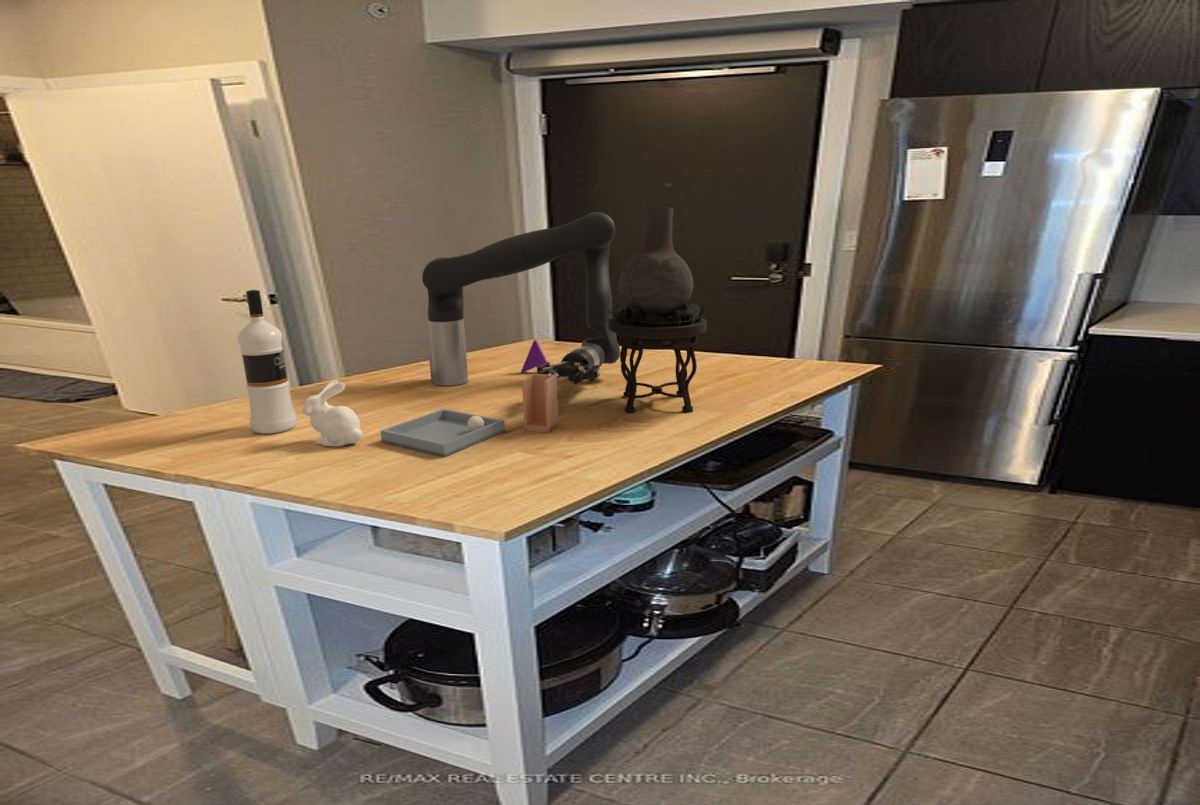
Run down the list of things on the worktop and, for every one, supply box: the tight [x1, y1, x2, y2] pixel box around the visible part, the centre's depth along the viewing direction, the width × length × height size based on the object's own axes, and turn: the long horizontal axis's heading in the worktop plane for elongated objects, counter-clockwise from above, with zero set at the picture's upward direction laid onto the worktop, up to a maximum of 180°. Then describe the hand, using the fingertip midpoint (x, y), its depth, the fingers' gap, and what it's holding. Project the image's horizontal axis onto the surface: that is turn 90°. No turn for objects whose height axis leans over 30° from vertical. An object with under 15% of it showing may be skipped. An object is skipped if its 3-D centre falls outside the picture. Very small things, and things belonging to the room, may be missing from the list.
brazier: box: [608, 206, 708, 414], centre depth 154 cm, size 22×22×45 cm
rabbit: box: [302, 379, 364, 448], centre depth 136 cm, size 12×9×12 cm
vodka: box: [237, 289, 298, 435], centre depth 143 cm, size 9×9×30 cm
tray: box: [380, 408, 506, 458], centre depth 139 cm, size 18×18×2 cm
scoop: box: [521, 373, 559, 433], centre depth 142 cm, size 6×6×11 cm
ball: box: [468, 416, 484, 431], centre depth 139 cm, size 3×3×3 cm
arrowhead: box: [520, 339, 548, 374], centre depth 192 cm, size 10×2×10 cm
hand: (557, 378), depth 152 cm, fingers open, 8 cm apart
